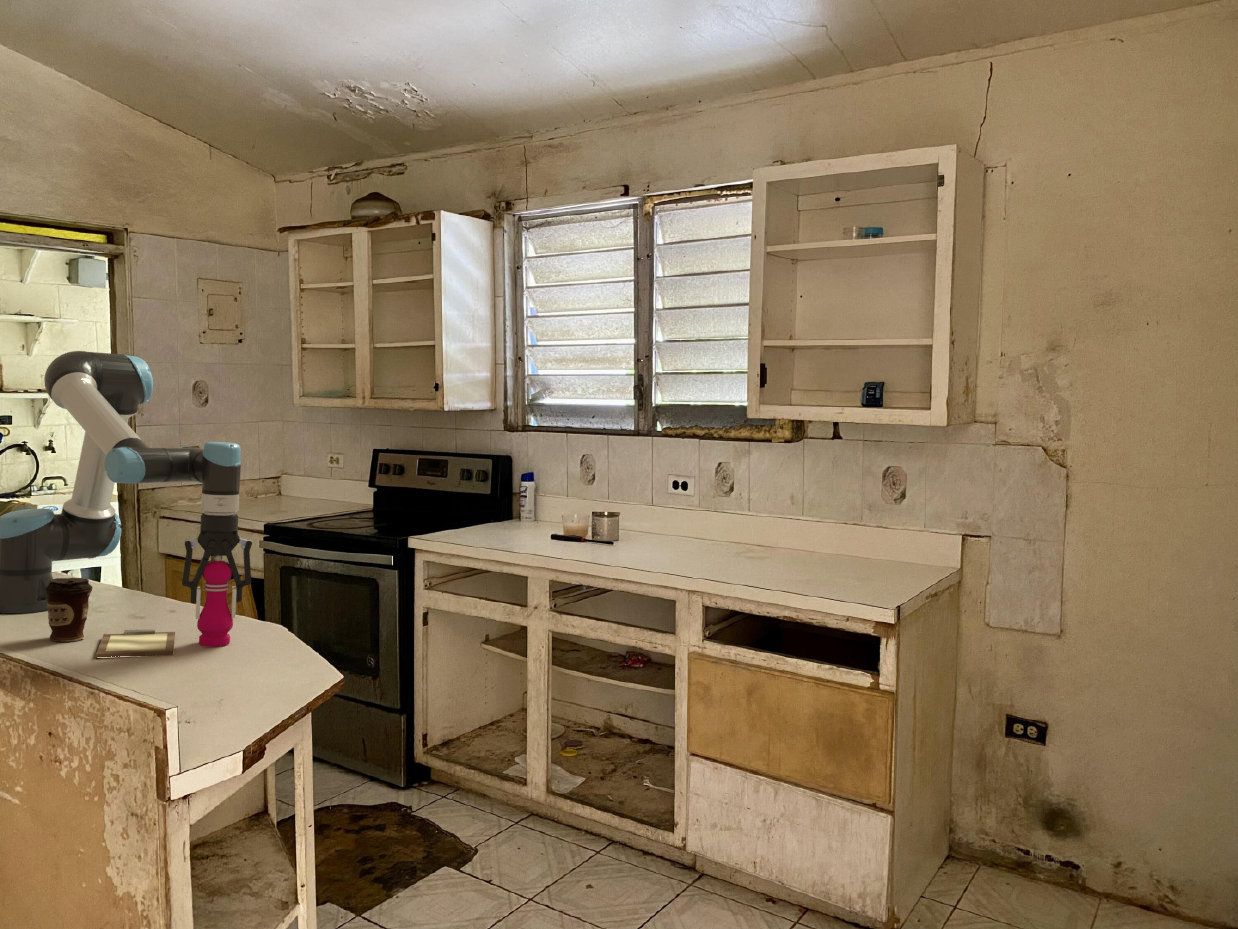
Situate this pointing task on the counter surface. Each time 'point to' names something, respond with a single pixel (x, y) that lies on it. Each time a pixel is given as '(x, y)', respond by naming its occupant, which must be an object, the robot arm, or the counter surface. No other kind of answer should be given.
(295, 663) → the counter surface
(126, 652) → the clipboard
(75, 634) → the coffee cup
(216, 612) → the pepper mill
